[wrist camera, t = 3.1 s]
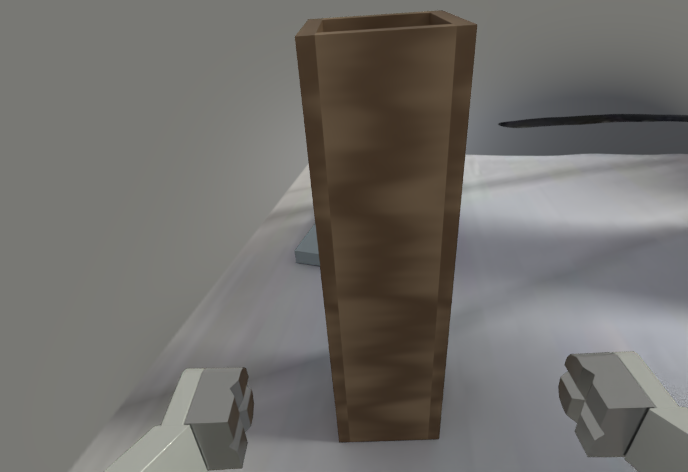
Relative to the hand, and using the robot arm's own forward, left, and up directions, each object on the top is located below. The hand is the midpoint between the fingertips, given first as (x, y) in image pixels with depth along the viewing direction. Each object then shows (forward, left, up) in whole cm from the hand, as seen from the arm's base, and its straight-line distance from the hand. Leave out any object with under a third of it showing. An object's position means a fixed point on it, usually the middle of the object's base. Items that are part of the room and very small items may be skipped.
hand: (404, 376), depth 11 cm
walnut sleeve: (+4, -12, -17) cm, 21 cm away
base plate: (+10, -34, -17) cm, 39 cm away
